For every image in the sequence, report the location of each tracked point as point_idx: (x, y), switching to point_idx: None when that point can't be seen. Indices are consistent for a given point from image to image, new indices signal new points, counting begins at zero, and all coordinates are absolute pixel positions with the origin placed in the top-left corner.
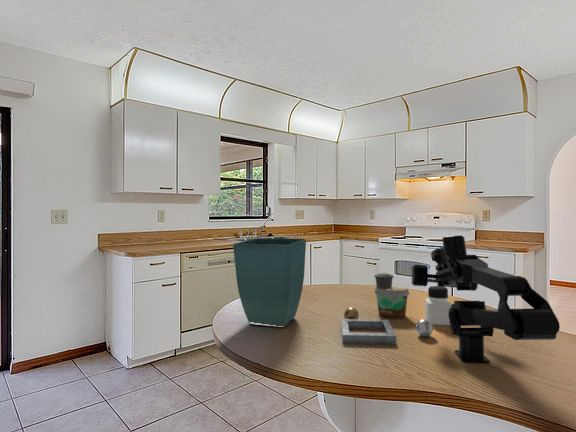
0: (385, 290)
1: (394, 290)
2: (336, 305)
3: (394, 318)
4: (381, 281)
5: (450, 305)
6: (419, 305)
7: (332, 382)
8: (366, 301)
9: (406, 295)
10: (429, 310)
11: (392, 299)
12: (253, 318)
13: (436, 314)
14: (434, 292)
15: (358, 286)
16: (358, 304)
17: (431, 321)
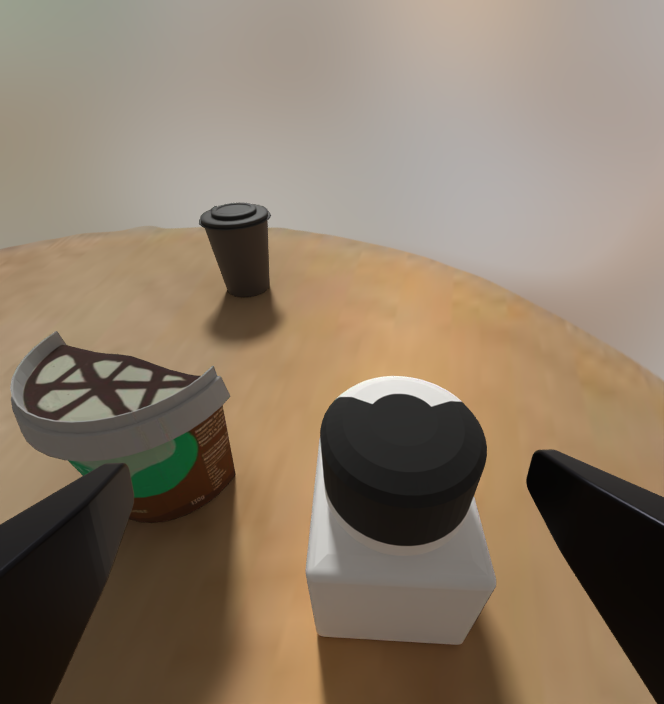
0: (26, 413)
1: (130, 380)
2: (12, 367)
3: (156, 521)
4: (219, 241)
5: (485, 591)
6: (344, 344)
7: None
8: (162, 324)
9: (193, 425)
10: (313, 599)
11: (94, 462)
12: None
13: (364, 615)
14: (357, 504)
15: None
16: (111, 352)
17: (330, 630)
